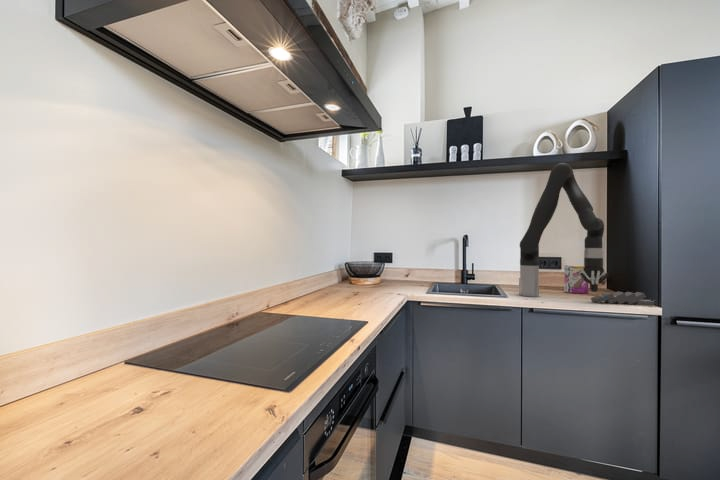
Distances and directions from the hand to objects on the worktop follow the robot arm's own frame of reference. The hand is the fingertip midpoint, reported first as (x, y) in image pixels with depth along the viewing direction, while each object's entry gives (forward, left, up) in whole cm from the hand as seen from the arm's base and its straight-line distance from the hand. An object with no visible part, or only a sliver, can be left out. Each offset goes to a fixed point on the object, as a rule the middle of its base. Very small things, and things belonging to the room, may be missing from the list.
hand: (593, 291), depth 146 cm
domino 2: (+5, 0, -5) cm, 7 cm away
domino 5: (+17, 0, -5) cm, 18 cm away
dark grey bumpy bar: (+9, 0, -5) cm, 11 cm away
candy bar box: (+5, +30, -6) cm, 31 cm away
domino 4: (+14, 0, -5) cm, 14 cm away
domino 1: (0, 0, -5) cm, 5 cm away
